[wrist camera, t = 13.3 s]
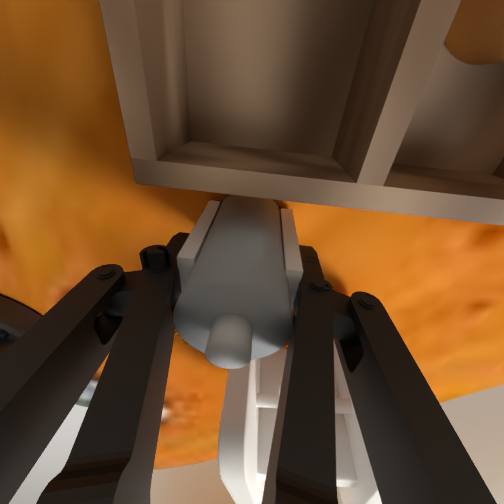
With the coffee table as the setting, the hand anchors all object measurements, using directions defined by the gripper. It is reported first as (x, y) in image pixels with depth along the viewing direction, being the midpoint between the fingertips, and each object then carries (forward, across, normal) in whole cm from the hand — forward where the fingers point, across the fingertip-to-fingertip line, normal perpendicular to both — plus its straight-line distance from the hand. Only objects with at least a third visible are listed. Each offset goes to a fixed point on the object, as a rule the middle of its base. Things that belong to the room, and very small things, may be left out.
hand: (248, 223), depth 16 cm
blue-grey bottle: (0, 0, 0) cm, 0 cm away
